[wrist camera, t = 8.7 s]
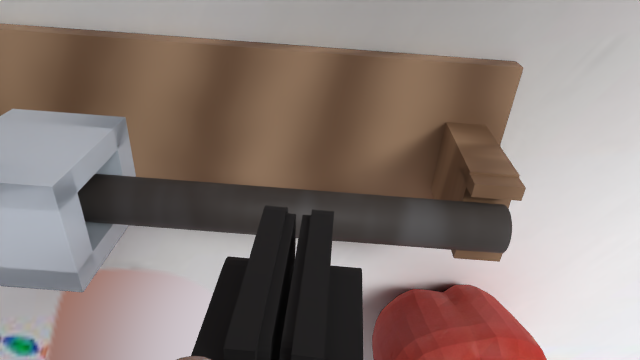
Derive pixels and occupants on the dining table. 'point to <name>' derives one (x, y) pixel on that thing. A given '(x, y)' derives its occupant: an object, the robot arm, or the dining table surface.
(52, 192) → the sleeve
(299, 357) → the robot arm
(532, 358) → the vegetable
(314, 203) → the rod stand
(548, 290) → the dining table surface
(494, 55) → the dining table surface
